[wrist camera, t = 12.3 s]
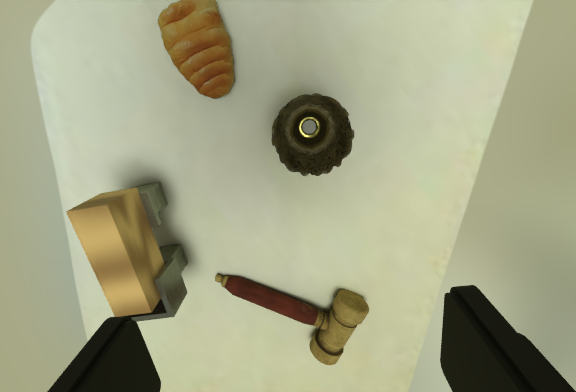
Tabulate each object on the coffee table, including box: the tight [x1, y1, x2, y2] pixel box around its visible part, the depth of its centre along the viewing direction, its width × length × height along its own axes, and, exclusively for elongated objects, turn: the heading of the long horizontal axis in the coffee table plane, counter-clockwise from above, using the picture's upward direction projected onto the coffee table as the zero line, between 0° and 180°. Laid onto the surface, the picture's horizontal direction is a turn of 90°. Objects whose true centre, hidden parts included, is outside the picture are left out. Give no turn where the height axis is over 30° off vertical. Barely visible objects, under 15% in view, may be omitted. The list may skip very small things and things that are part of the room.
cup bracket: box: [120, 244, 187, 321], centre depth 36 cm, size 5×6×10 cm
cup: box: [272, 93, 354, 176], centre depth 30 cm, size 8×7×8 cm
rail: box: [66, 188, 165, 317], centre depth 31 cm, size 12×4×5 cm, turn 10°
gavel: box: [215, 275, 369, 365], centre depth 41 cm, size 21×5×10 cm
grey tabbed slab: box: [135, 182, 167, 227], centre depth 35 cm, size 4×6×6 cm, turn 100°
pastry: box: [158, 0, 234, 99], centre depth 30 cm, size 9×7×4 cm
